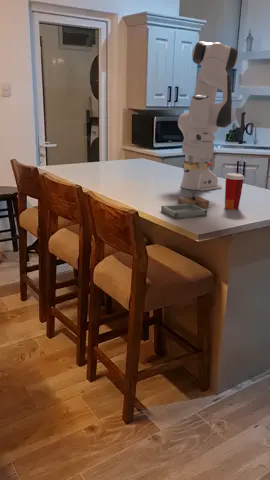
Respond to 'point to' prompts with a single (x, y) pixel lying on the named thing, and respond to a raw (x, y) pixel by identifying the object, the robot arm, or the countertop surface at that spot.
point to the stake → (193, 193)
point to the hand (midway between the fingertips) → (195, 167)
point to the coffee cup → (233, 190)
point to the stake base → (194, 201)
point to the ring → (194, 166)
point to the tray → (183, 211)
